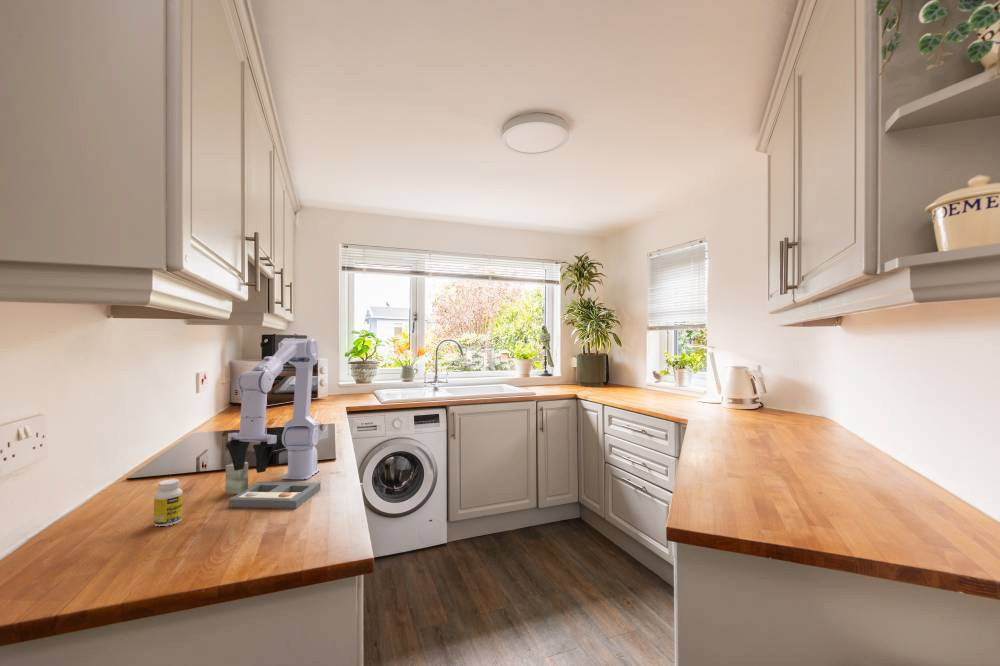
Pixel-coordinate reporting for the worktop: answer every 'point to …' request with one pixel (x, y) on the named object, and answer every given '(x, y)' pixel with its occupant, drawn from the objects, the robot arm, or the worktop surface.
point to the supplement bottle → (168, 503)
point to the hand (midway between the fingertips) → (249, 470)
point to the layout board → (275, 495)
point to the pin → (236, 479)
